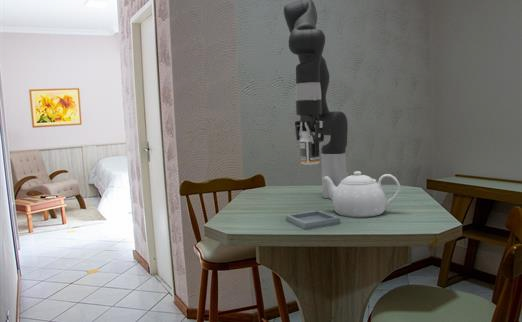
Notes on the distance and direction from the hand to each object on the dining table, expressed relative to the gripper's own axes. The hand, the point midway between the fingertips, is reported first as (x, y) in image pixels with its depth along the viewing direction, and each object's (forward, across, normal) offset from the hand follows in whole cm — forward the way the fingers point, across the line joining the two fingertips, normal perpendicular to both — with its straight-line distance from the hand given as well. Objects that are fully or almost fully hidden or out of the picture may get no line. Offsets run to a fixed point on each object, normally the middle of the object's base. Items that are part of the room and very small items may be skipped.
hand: (310, 155), depth 127 cm
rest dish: (+21, 0, 0) cm, 21 cm away
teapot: (+21, -3, +20) cm, 29 cm away
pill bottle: (+3, 0, 0) cm, 3 cm away
